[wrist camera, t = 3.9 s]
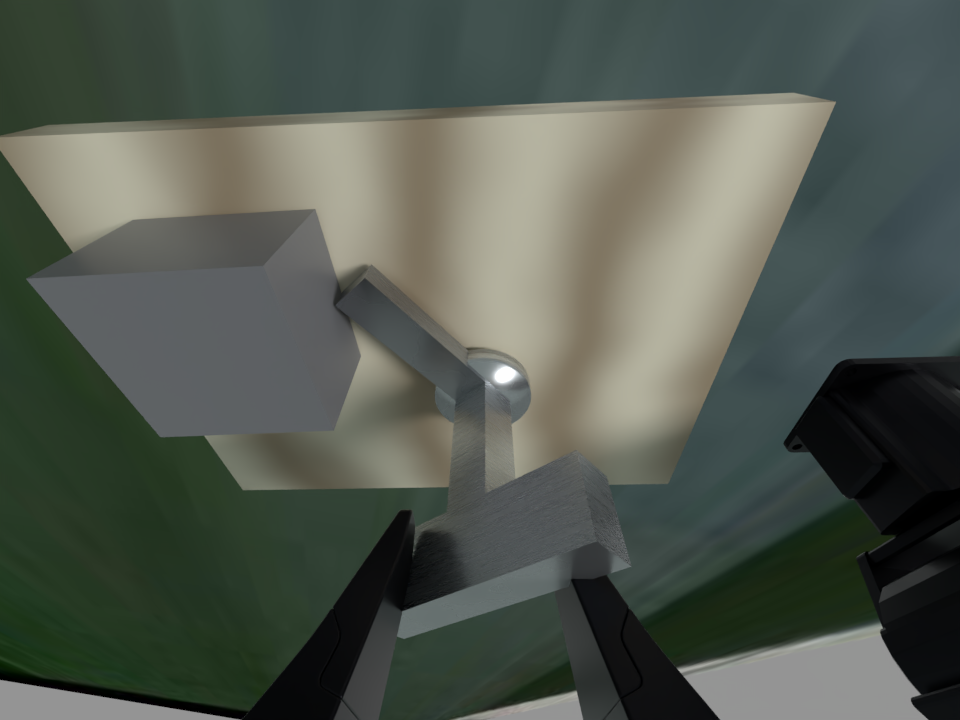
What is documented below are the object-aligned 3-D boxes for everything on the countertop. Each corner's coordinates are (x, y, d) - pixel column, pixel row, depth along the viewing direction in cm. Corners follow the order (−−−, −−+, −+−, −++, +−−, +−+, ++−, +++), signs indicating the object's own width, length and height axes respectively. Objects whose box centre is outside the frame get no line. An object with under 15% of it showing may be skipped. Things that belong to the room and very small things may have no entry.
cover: (315, 209, 13) (263, 265, 10) (361, 356, 17) (334, 430, 14) (133, 219, 13) (25, 278, 10) (218, 362, 17) (160, 437, 14)
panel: (793, 92, 13) (836, 101, 11) (656, 454, 24) (668, 483, 22) (48, 124, 13) (-9, 137, 12) (257, 461, 25) (242, 490, 23)
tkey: (438, 202, 13) (387, 390, 6) (587, 366, 17) (654, 583, 10) (292, 337, 16) (160, 552, 9) (448, 446, 20) (430, 648, 14)
